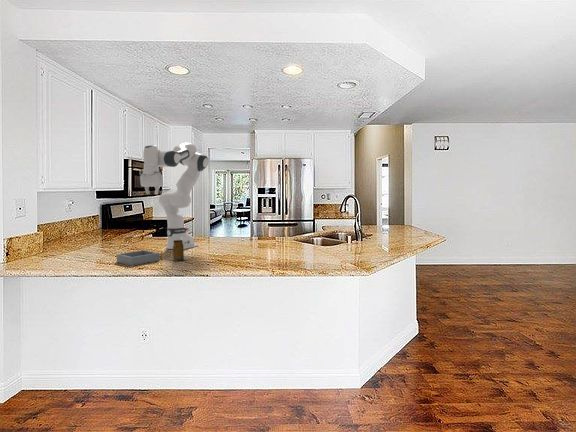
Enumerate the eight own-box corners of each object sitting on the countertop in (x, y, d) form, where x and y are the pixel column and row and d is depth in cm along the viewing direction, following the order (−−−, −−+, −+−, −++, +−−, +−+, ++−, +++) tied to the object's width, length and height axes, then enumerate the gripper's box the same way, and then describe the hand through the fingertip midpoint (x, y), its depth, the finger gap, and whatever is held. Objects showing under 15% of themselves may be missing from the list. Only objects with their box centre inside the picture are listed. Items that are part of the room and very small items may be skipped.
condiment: (174, 259, 261) (174, 239, 260) (188, 259, 261) (188, 239, 260) (171, 261, 254) (170, 241, 253) (185, 261, 254) (185, 241, 253)
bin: (143, 257, 266) (143, 250, 265) (159, 261, 255) (159, 253, 255) (116, 262, 253) (116, 254, 252) (132, 265, 242) (131, 257, 241)
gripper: (165, 171, 261) (166, 194, 262) (147, 172, 274) (147, 193, 275) (156, 171, 256) (156, 194, 257) (138, 171, 269) (138, 194, 270)
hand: (152, 194), depth 266 cm, fingers open, 8 cm apart
